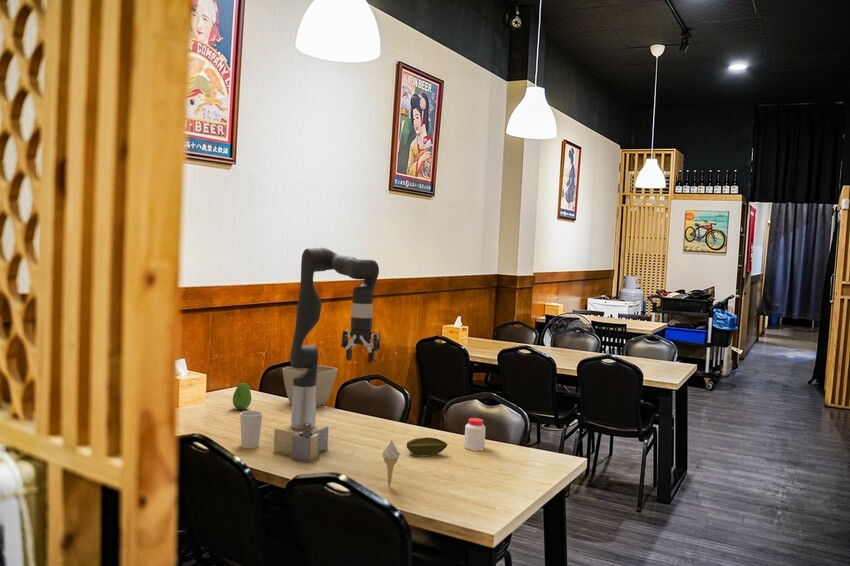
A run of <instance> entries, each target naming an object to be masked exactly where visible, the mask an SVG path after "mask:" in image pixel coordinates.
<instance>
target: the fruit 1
mask: <svg viewBox="0 0 850 566" xmlns="http://www.w3.org/2000/svg"><path fill="white" fill-rule="evenodd" d="M251 402H252V392H251V388H250V385H249V384H248V383H247V382H240V383H239V384H238V385H237V386H236V389H235V390H234V393H233V396H232V404H233V406H234V408H235V409H237V410H238V411H246V409H247V408H248V407H250V404H251Z"/></svg>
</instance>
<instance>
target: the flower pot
mask: <svg viewBox="0 0 850 566" xmlns="http://www.w3.org/2000/svg"><path fill="white" fill-rule="evenodd" d="M307 369H308V368H298V369H297V368H293V367H292V366H291V365H290V366H287V367H283V368H282V378H283V383H284V388H285V392H286V395H287V399H288V402H289V404H290V405H292V396H293V379H294V378H295V377H296V376H299V375H301V374H303V373H304V372H306V371H307ZM337 375H338V368H337V367H331V366H325V365H319V364H318V365H317V378H316V394H315V402H316V408H317V407H320V406H323V405H326V404H327V403H328V401H329V398H330V396H331V393H332V391H333V388H334V386H335V385H334V384H335V382H336V378H337Z"/></svg>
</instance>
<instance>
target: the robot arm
mask: <svg viewBox="0 0 850 566" xmlns="http://www.w3.org/2000/svg"><path fill="white" fill-rule="evenodd" d="M332 270H333V271H335V272H336V273H337V274H339V275H343V276H347V277H349V278H350V279H353V280H363V282H362V284H360V285H358V286H355V287H353V289H352V303H351V311H350V330H349V329H348V330H343V331H342V334H341V335H342V337H341V343H340V344H341V348H343V349H345V352H346V353H345V358H346V360H347V361H352V360H353V347H354V346H355V345H360V346H364V347H365V348H366V349H367V351H368V352H367V353H368V354H367V355H368V356H367V363H368V364H372V363H373V362H374V360H375V352H379V351H380V345H381V344H380V342H381V341H380V333H372V329H373V317H374V316H373V315H374V314H373V313H374V311H373V309H374V308H373V297H374V290H375V286H376V284H377V280H378V278H379V273H380V268H379V264H378V262H377V261H376V260H373V259H363V258H361V259H359V258H357V257H354V256H350V255H343V254H339V253H337V252H334V251H333V250H331V249H329V248H327V247H308V248H305V249H304V250H303V251H302V255H301V264H300V283H299V284H300V285H299V294H298V299H297V300H298V301H297V302H298V303H297V307H296V318H295V325H294V326H295V328H294V335H293V339H292V343H291V348H290V356H289V362H290V363H289V364H290V367H291V366H292V367H293V368H297V369H298V368H308V369H307V371H306V372H304V373H303V374H301V375H299V376H296V377H295V378H294V379H293V396H292V404H291V422H290V424H291V426H290V427H291V428H292V429H297V430H302V428H303V424H305V423H309V424H311V429H313V428H315V426H316V412H317V410H316V409H317V407H316V402H315V394H316V378H317V365H319V350H318V347H317V346H316V345H304V344H303V343H304V341H305V339H306V337H307V336H308V334H309V333H310V332H311V331H313V329H314V328H315V326H317V324H318V322H319V320H320V318H321V312H322V311H321V310H322V300H321V297H320V295H319V293H318V291H317V290H316V288H315V284H314V274H315V273H317V272H326V271H332ZM349 337H350V340H349ZM371 339H372V340H373V341H372V340H371Z"/></svg>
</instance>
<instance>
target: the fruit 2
mask: <svg viewBox="0 0 850 566" xmlns="http://www.w3.org/2000/svg"><path fill="white" fill-rule="evenodd" d="M447 446H448V443H447V442H446V441H443V440H441V439H439V438H435V437H422V438H421V437H419V438H418V437H417V438H413V439H411V440H409V441H407V443H406V449H407V450H408V451H409V453H410V454H412V455H415V456H417V455H430V456H435V455H438V454H439V453H442V452H443V451H444V450H445V449H446V448H447Z"/></svg>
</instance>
